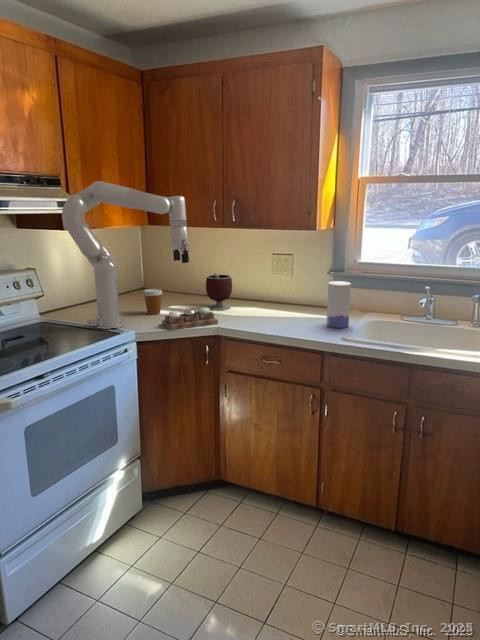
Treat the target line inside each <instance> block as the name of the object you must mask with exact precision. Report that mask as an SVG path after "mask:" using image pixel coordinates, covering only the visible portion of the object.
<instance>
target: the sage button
mask: <svg viewBox="0 0 480 640" xmlns="http://www.w3.org/2000/svg"><path fill="white" fill-rule="evenodd" d="M198 312H199V314H201V315H204V314H210V312H211V310H210V309H209V308H208V307H200V308H199V309H198Z"/></svg>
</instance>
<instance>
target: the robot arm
mask: <svg viewBox="0 0 480 640" xmlns="http://www.w3.org/2000/svg"><path fill="white" fill-rule="evenodd" d="M185 198H186V197H184V196H183V195H176V196H175V195H174V196H162V195H156V194H153V193H148V192H145V191H142V190H141V191H140V190H136V189H135V188H132V187H131V188H130V187H128V186H127V187H126V186H123V185H118V184H115V183H114V184H113V183H109V182H106V181H101V180H100V181H99V180H96V181H94V182H93V183H92V184H90V185H89V186H87V187H86V188H84V189H82V190H80V191H79V192H77V193H75V194H72V195H71V196H69V197H68V198H67V199H66V200H65V202H64V205H63V207H62V210H61V219H62V223H63V226H64V228H65V229H66V230H67V233H68V234H69V236H70V237H71V239H72V240H73V242H74V243H75V245H76V246H77V247H78V249H79V251H80V252H81V254H82V255H83V256H84V257H86V260H88V262H89V264H91V266H92V267H93V273H94V283H95V284H94V286H95V295H96V296H95V297H96V308H97V309H96V310H97V316H96V318H94V319H88V320H87V325H94V327H95V326H96V327H101V328H117V329H120V328H123V326H124V322H123V321H121V319H120V304H119V303H120V301H119V290H118V271H117V270H118V269H117V264H116V261H115V260H114V259H113V257H112V256H111V254H110V253H109V251H108V250H107V248H106V247H105V245H104V244H103V242H102V241H101V239H100V238H99V237H98V236H96V235H95V234H94V232H93V231H92V230H91V228H90V227H89V224H88V223H87V222H86V221H85V219H84V213H86V212H87V211H90V210H91V209H93V208H94V207H96V206H98V205H100V204H101V203H103V204H109V205H114V206H119V207H122V208H127V209H132V210H133V209H134V210H141V211H145V212H149V213H155V214H159V215H164V214H166V213H168V216H169V227H170V228H169V229H170V248H171V249H172V255H173V261H174V262H176V261H181V263H182V264H186V263H189V262H190V258H189V254H190V253H189V252H190V251H189V247H190V246H189V241H188V232H187V226H188V223H187V211H186V199H185ZM96 327H95V328H96Z"/></svg>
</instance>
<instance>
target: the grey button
mask: <svg viewBox="0 0 480 640" xmlns="http://www.w3.org/2000/svg"><path fill="white" fill-rule="evenodd" d="M195 312H196V310H195V309H185V310H184V313H183V314H184V316H186V317H188V316H195Z"/></svg>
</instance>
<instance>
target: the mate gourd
mask: <svg viewBox="0 0 480 640" xmlns="http://www.w3.org/2000/svg"><path fill="white" fill-rule="evenodd" d="M232 291H233V280H232V275H229V274H218V273H214V274H209V275H207V276H206V281H205V292H206V296H208V298H209V300H212V301H214V302H216V303H215V304H211V305H208V306H207V308H209V309H210V311H214V312H223V311H229V310H230V309H231V308H232V306H231V305H229V304H223V301H226V300H229V298H230V297H231V295H232Z"/></svg>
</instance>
